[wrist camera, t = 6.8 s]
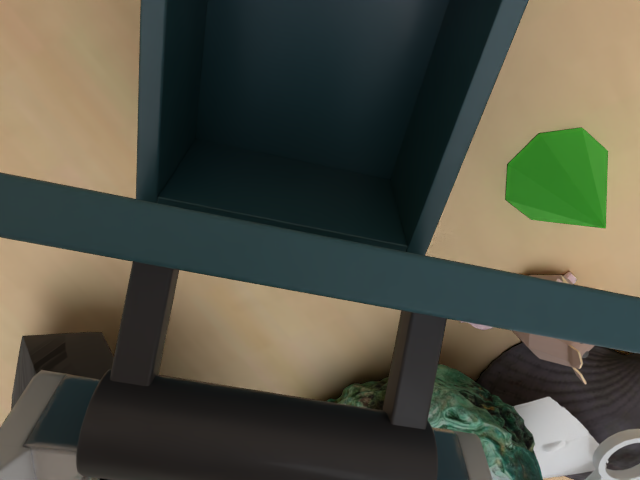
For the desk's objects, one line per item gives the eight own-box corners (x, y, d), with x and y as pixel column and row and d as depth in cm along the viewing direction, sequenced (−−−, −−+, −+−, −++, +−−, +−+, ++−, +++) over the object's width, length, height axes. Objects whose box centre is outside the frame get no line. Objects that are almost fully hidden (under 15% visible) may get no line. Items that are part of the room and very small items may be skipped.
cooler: (204, -163, 20) (144, -214, 14) (492, -83, 22) (567, -93, 15) (181, 144, 27) (135, 210, 21) (398, 189, 29) (421, 266, 22)
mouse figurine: (449, 294, 33) (475, 369, 27) (572, 256, 31) (628, 328, 25) (468, 346, 35) (495, 425, 29) (582, 314, 33) (635, 391, 28)
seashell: (579, 270, 35) (634, 340, 28) (730, 413, 39) (811, 505, 32) (433, 378, 40) (447, 460, 33) (579, 493, 44) (619, 587, 37)
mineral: (399, 277, 34) (347, 346, 26) (604, 417, 31) (623, 548, 23) (296, 430, 43) (232, 520, 34) (448, 551, 40) (419, 683, 31)
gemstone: (620, 192, 29) (684, 246, 24) (521, 236, 30) (561, 296, 25) (594, 105, 26) (659, 146, 21) (487, 159, 28) (523, 208, 23)
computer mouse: (623, 494, 32) (611, 532, 31) (468, 446, 42) (453, 474, 40) (582, 401, 30) (566, 438, 28) (426, 372, 39) (408, 399, 37)
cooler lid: (-206, 132, 6) (-289, 531, 6) (743, 318, 7) (684, 641, 7) (133, 206, 20) (110, 319, 20) (424, 263, 22) (404, 368, 22)
